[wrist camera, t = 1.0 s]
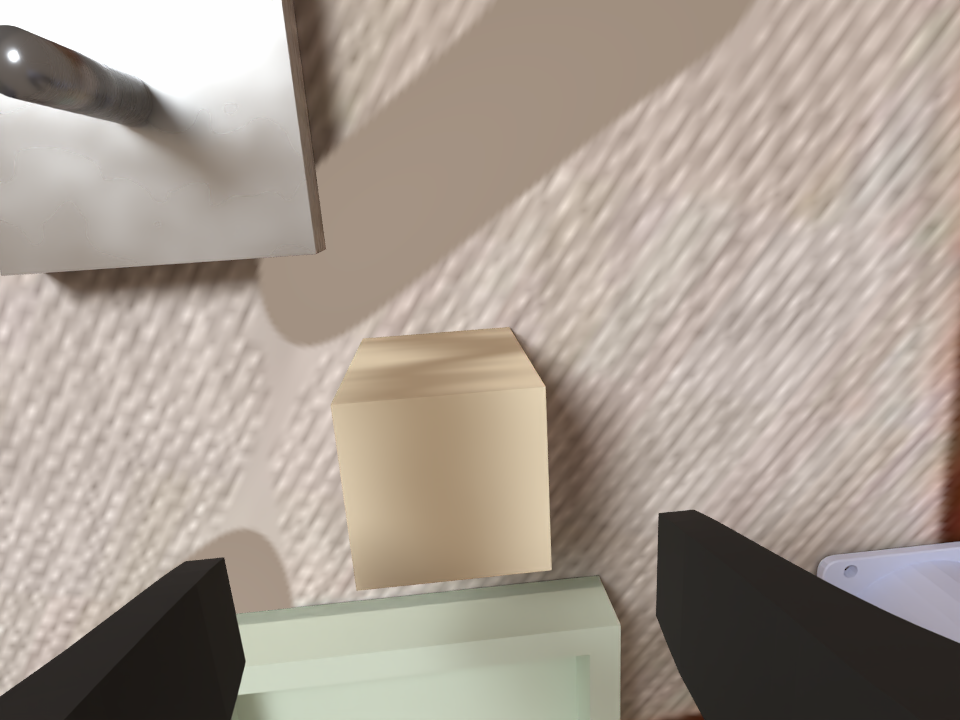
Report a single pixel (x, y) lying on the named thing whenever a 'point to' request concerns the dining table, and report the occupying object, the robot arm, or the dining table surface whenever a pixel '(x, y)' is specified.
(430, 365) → the birch block
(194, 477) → the dining table surface
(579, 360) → the dining table surface
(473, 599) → the tray
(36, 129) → the silver peg base
